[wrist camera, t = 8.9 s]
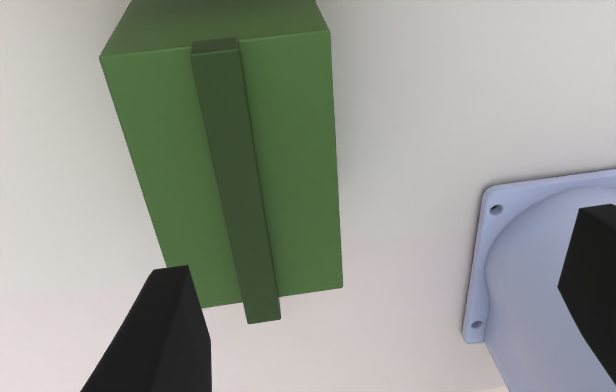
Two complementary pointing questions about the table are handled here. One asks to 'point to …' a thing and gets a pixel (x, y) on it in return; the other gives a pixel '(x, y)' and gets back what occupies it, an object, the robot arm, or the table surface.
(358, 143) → the table surface
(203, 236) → the green block
